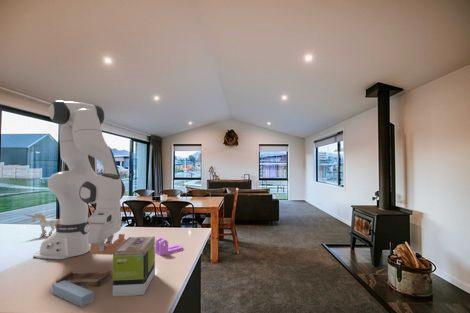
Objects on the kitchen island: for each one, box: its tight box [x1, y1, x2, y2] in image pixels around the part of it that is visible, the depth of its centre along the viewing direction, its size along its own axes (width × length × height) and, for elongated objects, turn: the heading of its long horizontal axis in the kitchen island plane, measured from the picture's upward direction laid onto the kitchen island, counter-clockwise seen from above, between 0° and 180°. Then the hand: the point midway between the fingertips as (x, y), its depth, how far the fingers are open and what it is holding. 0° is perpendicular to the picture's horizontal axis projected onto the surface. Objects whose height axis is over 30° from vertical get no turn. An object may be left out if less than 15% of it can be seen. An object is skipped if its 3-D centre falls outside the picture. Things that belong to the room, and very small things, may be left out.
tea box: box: [112, 236, 156, 297], centre depth 84 cm, size 15×10×15 cm, turn 5°
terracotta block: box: [89, 233, 127, 256], centre depth 97 cm, size 12×4×8 cm, turn 93°
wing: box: [52, 280, 94, 308], centre depth 76 cm, size 16×4×3 cm, turn 62°
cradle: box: [55, 270, 112, 287], centre depth 86 cm, size 15×8×2 cm, turn 93°
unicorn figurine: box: [23, 212, 61, 237], centre depth 142 cm, size 7×20×13 cm, turn 100°
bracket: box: [155, 237, 184, 257], centre depth 117 cm, size 13×6×7 cm, turn 134°
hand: (105, 248), depth 97 cm, fingers closed on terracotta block, 4 cm apart
